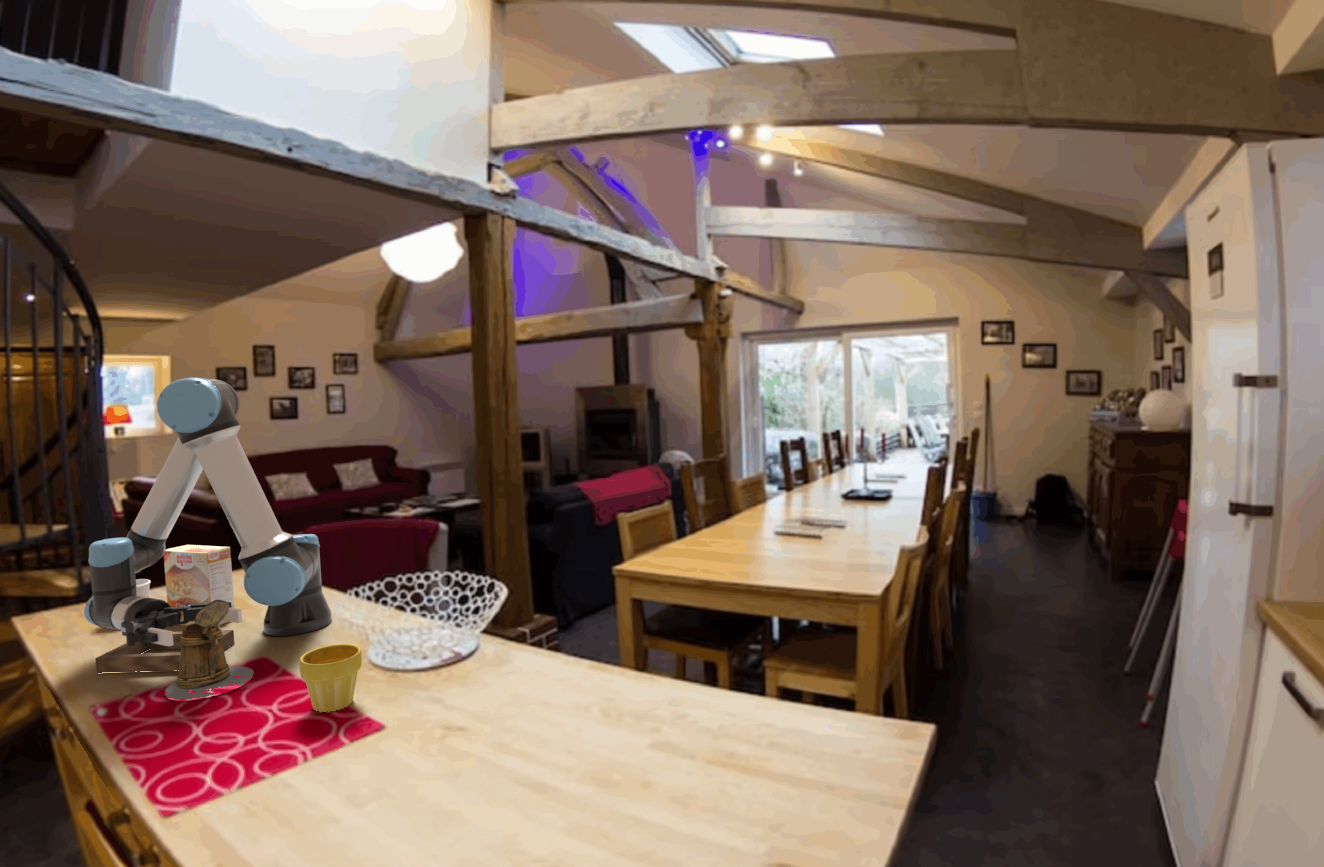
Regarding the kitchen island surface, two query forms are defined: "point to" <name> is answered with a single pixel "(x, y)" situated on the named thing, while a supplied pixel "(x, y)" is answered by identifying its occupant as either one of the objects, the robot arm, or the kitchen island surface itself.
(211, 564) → the coffeecake box
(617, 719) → the kitchen island surface
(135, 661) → the frame
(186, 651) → the wooden mug
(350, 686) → the plant pot
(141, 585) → the dixie cup
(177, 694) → the grey mat
